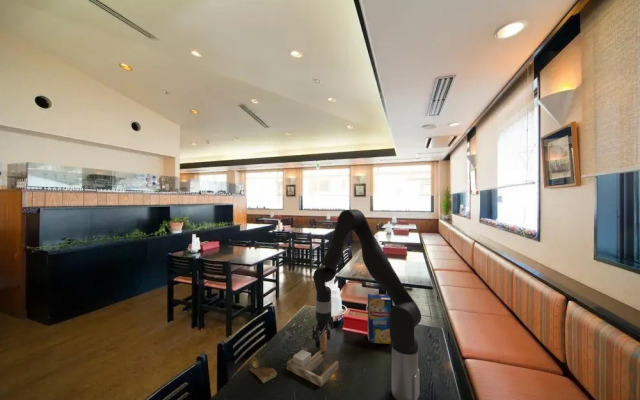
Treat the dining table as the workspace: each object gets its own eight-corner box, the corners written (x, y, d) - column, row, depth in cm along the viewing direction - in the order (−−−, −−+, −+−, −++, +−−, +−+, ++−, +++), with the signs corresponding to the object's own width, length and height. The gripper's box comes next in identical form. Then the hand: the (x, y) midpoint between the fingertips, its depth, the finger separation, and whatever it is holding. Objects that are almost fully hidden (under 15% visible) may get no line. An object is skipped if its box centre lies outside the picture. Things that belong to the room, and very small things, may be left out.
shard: (249, 371, 105) (249, 366, 105) (265, 363, 110) (265, 359, 110) (262, 385, 97) (262, 380, 97) (279, 375, 103) (279, 371, 103)
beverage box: (391, 343, 126) (391, 299, 126) (368, 342, 127) (369, 298, 127) (388, 336, 133) (388, 294, 133) (367, 335, 134) (367, 293, 134)
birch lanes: (338, 368, 106) (338, 361, 106) (320, 387, 96) (320, 379, 96) (305, 354, 117) (305, 347, 117) (286, 369, 106) (286, 361, 106)
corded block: (329, 350, 120) (329, 333, 120) (302, 374, 103) (302, 354, 103) (320, 346, 123) (321, 330, 123) (293, 369, 106) (293, 350, 106)
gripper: (321, 316, 112) (321, 353, 112) (338, 306, 124) (337, 339, 124) (308, 312, 117) (307, 347, 117) (325, 302, 128) (324, 334, 128)
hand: (323, 343), depth 120 cm, fingers open, 8 cm apart
